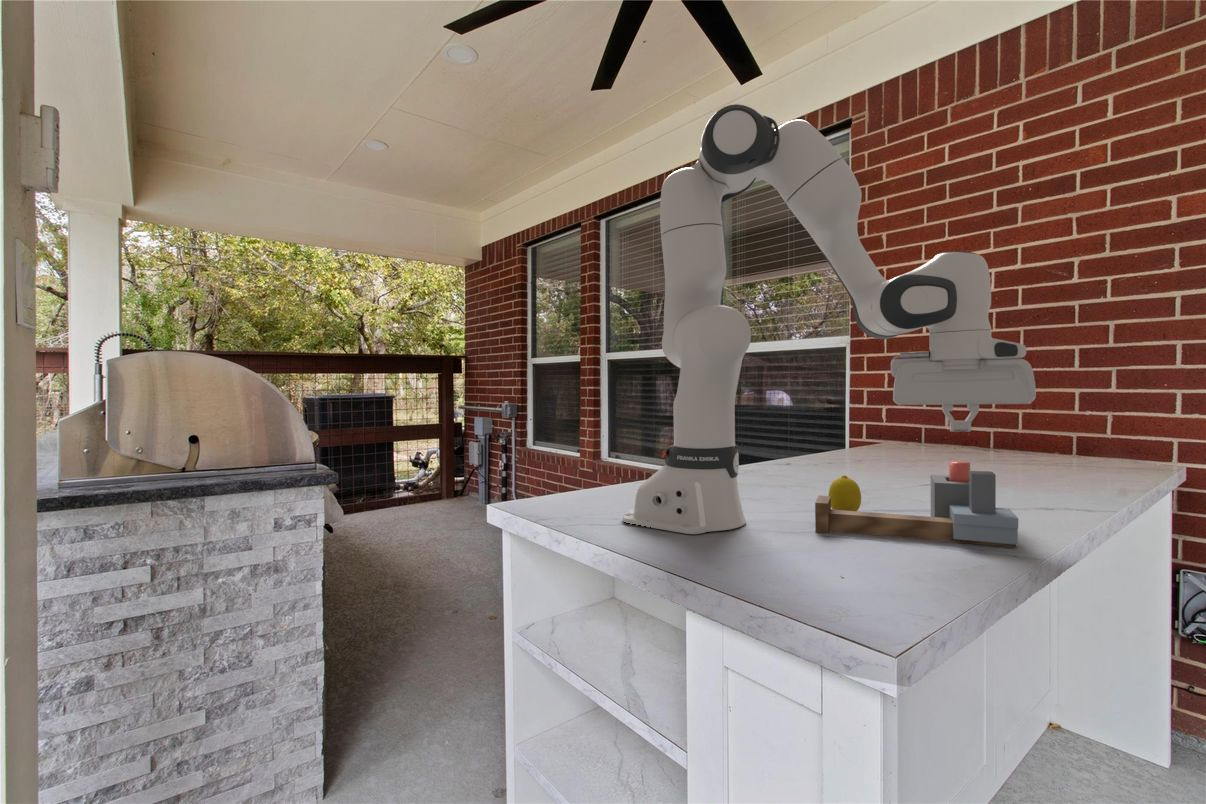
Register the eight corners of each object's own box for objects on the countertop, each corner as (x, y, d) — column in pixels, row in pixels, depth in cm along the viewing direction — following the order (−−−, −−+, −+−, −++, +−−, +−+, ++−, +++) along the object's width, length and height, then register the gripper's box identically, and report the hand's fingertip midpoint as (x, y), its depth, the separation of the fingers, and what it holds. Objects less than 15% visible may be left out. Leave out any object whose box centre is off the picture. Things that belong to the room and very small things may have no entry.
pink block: (950, 498, 94) (950, 463, 94) (948, 494, 97) (948, 460, 97) (971, 499, 93) (971, 464, 92) (968, 496, 95) (968, 461, 95)
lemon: (864, 522, 99) (864, 478, 99) (831, 522, 100) (831, 477, 100) (857, 515, 104) (856, 472, 104) (825, 514, 105) (825, 472, 105)
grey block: (934, 530, 93) (934, 482, 93) (930, 518, 100) (930, 474, 100) (992, 534, 90) (992, 485, 89) (983, 522, 97) (983, 477, 96)
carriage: (954, 539, 85) (953, 474, 85) (949, 529, 91) (949, 468, 90) (1018, 545, 81) (1018, 477, 81) (1009, 533, 87) (1009, 470, 87)
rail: (815, 531, 94) (815, 502, 94) (818, 523, 99) (818, 495, 99) (1018, 550, 82) (1018, 516, 81) (1009, 539, 87) (1010, 507, 87)
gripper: (890, 352, 96) (891, 432, 96) (1038, 345, 86) (1038, 434, 87) (890, 353, 101) (891, 428, 102) (1028, 347, 92) (1029, 430, 93)
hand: (960, 431), depth 94 cm, fingers closed
